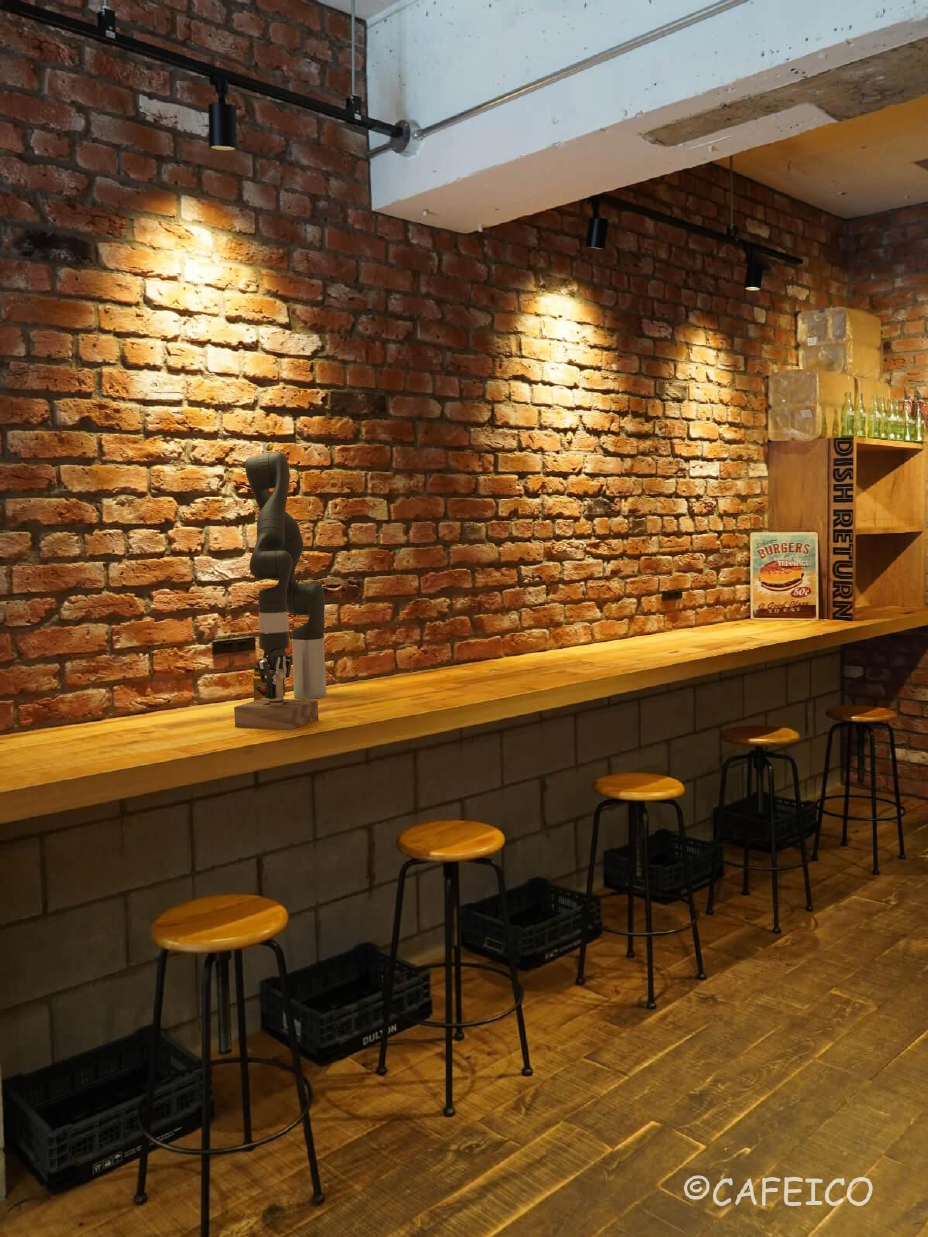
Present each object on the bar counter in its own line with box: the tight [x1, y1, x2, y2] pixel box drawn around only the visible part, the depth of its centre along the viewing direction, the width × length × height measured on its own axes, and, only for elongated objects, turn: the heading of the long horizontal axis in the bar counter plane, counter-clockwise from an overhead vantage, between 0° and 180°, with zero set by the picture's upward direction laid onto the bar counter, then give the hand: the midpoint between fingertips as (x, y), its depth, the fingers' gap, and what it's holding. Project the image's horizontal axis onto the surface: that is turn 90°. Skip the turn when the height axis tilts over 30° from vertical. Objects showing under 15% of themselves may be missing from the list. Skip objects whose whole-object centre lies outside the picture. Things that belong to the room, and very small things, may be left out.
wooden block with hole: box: [233, 698, 319, 730], centre depth 265 cm, size 14×16×5 cm
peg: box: [269, 670, 285, 706], centre depth 265 cm, size 4×4×13 cm
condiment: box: [252, 665, 268, 701], centre depth 287 cm, size 7×8×12 cm
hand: (276, 697), depth 265 cm, fingers closed on peg, 3 cm apart
